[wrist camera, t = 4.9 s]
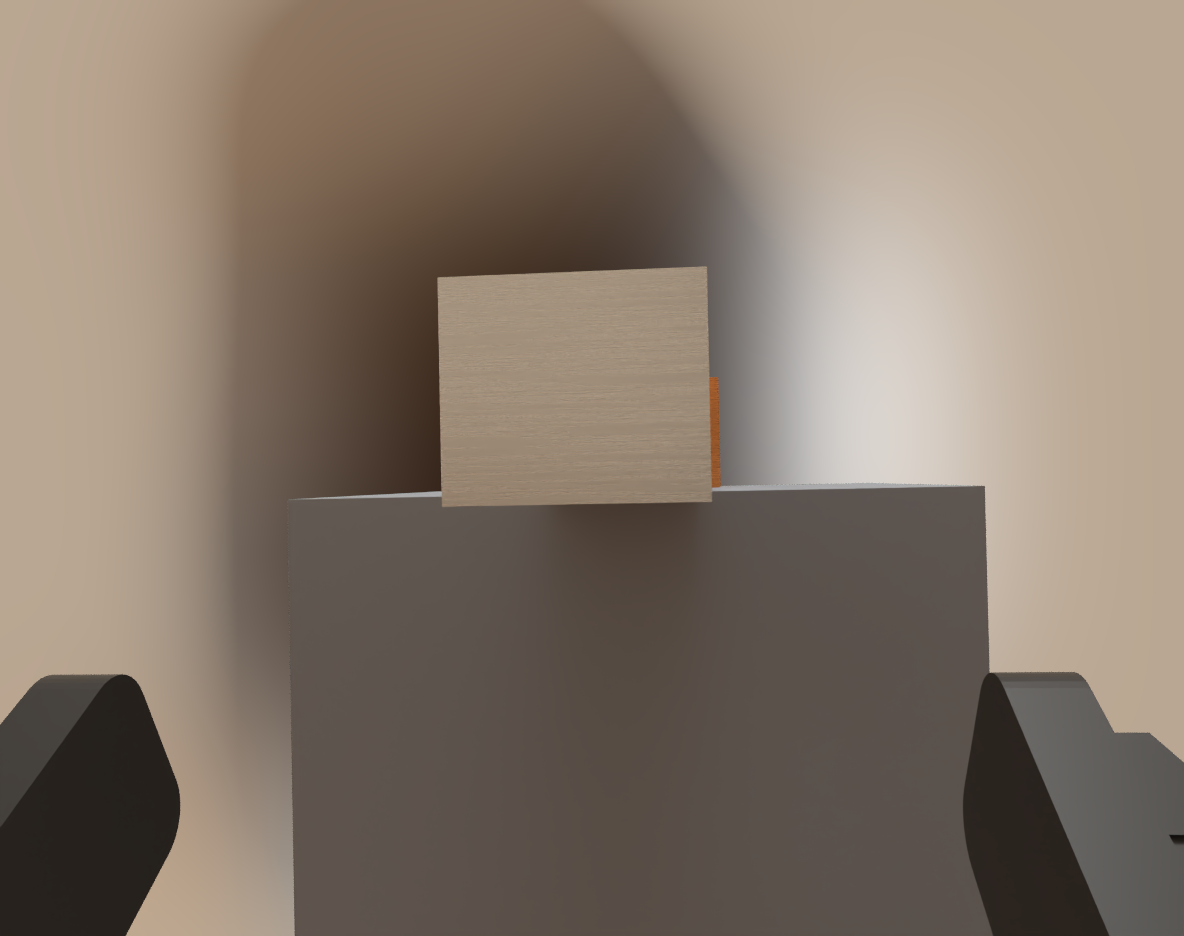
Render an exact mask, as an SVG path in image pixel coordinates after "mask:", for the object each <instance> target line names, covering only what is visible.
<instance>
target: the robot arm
mask: <svg viewBox="0 0 1184 936" xmlns="http://www.w3.org/2000/svg"><path fill="white" fill-rule="evenodd" d="M179 817H180V794H179V788H178V784H177V781H176V779H175V776H174V773H173V771H172V768H171V766H170V763H169V760H168V758H167V755H166V752H165V750H164V747H163V745H162V742H161V740H160V737H159V734H158V731H157V729H156V726H155V724H154V721H153V718H152V716H151V713H150V710H149V708H148V705H147V703H146V700H145V697H144V695H143V692H142V690H141V688H140V686H139V685H138V683H137V682H136V681H135V680H134V679H133V678H132V677H130V676H128V675H49V676H46V677H44V678H41V679H40V680H39V681H37V682H36V683H35V684H34V685H33V686H32V687H31V688H30V689H29V690H28V691H27V693H26V694H25V695H24V696H23V698H22V699H21V700H20V701H19V702H18V704H17V705H16V706H15V708H14V709H13V710H12V711H11V712H10V714H9V715H8V716H7V717H6V718H5V720H4V721H3V722H2V723H1V725H0V936H126V934H127V932H128V930H129V928H130V926H131V924H132V923H133V921H134V919H135V917H136V915H137V913H138V911H139V909H140V907H141V906H142V904H143V902H144V900H145V898H146V896H147V894H148V892H149V890H150V888H151V887H152V885H153V883H154V881H155V879H156V877H157V875H158V873H159V871H160V869H161V868H162V866H163V864H164V862H165V860H166V858H167V856H168V854H169V852H170V850H171V848H172V845H173V843H174V840H175V837H176V833H177V829H178V823H179ZM963 822H964V832H965V840H966V845H967V851H968V855H969V859H970V863H971V867H972V870H973V873H974V876H975V879H976V883H977V886H978V889H979V892H980V895H981V899H982V902H983V905H984V908H985V911H986V915H987V918H988V921H989V924H990V927H991V931H992V934H993V936H1184V762H1182V761H1181V760H1180V759H1179V758H1178V757H1177V756H1175V755H1174V754H1173V753H1172V752H1171V751H1170V750H1169V749H1167V748H1166V747H1165V746H1164V745H1163V744H1161V742H1159V741H1158V740H1157V739H1156V738H1155V737H1153V736H1152V735H1151V734H1150V733H1114V731H1113V730H1112V728H1111V726H1110V724H1109V722H1108V720H1107V718H1106V716H1105V714H1104V712H1103V711H1102V709H1101V707H1100V705H1099V703H1098V701H1097V700H1096V698H1095V696H1094V694H1093V692H1092V690H1091V689H1090V687H1089V685H1088V683H1087V682H1086V680H1085V679H1084V678H1083V677H1082V676H1081V675H1079V674H1078V673H1075V672H1024V673H1023V672H1021V673H1020V672H1019V673H1017V672H1016V673H988V674H987V675H986V676H985V678H984V680H983V682H982V685H981V690H980V695H979V701H978V707H977V713H976V720H975V726H974V732H973V738H972V744H971V750H970V756H969V762H968V768H967V774H966V780H965V786H964V793H963Z"/></svg>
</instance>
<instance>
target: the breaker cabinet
mask: <svg viewBox="0 0 1184 936" xmlns="http://www.w3.org/2000/svg"><path fill="white" fill-rule="evenodd" d="M287 501H288V560H289V615H290V616H289V619H290V620H289V621H290V673H291V675H290V680H291V740H292V799H293V858H294V916H295V918H294V919H295V936H993V934H992V931H991V927H990V924H989V921H988V918H987V915H986V911H985V908H984V905H983V902H982V899H981V895H980V892H979V889H978V886H977V883H976V879H975V876H974V873H973V870H972V867H971V863H970V859H969V855H968V851H967V845H966V840H965V832H964V822H963V793H964V786H965V780H966V774H967V768H968V762H969V756H970V750H971V744H972V738H973V732H974V726H975V720H976V713H977V707H978V701H979V695H980V690H981V685H982V682H983V680H984V678H985V676H986V675H987V674H988V673H989V636H988V598H987V560H986V559H987V558H986V523H985V521H986V519H985V486H962V485H924V484H884V483H852V484H802V485H753V486H752V485H750V486H721V487H715V488H712V502H674V503H620V504H566V505H511V506H457V507H442V492H423V493H405V494H404V493H403V494H385V495H366V496H346V497H329V498H328V497H327V498H308V499H290V500H287Z"/></svg>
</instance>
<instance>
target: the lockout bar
mask: <svg viewBox="0 0 1184 936" xmlns="http://www.w3.org/2000/svg"><path fill="white" fill-rule="evenodd" d="M707 301H708V300H707V267H684V268H661V269H660V268H659V269H635V270H612V271H611V270H610V271H587V272H586V271H585V272H562V273H536V274H512V275H490V276H489V275H487V276H464V277H440V278H438V316H439V317H438V320H439V372H440V373H439V374H440V422H441V423H440V425H441V426H440V428H441V476H442V477H441V481H442V507H457V506H511V505H566V504H620V503H674V502H712V488H715V487H721V483H720V439H719V396H718V394H719V393H718V377H712V378H709V346H708V306H707V305H708V302H707Z"/></svg>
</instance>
